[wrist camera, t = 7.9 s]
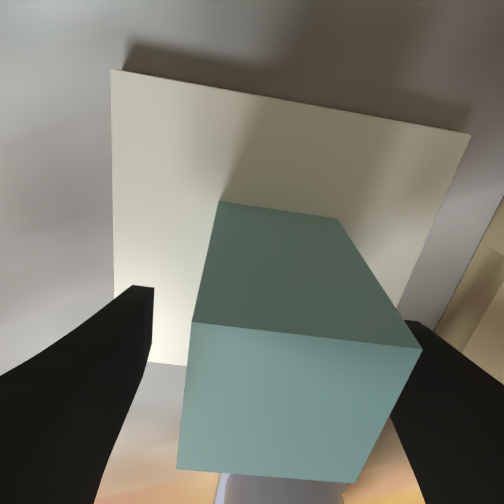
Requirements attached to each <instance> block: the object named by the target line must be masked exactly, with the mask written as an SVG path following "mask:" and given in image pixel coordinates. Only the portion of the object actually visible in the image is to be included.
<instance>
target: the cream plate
mask: <svg viewBox="0 0 504 504" xmlns="http://www.w3.org/2000/svg"><path fill="white" fill-rule="evenodd" d="M111 120H112V180H113V239H114V298H116V297H117V296H118V295H120V294H121V293H122V292H123V291H125V290H126V289H127V288H129V287H130V286H132V285H138V286H146V287H153V288H154V309H153V331H152V345H151V349H150V352H149V356H148V360H147V362H156V363H165V364H174V365H183V366H187V360H188V351H189V341H190V332H191V322H192V318H193V313H194V309H195V304H196V300H197V295H198V291H199V286H200V282H201V277H202V273H203V268H204V264H205V259H206V255H207V251H208V246H209V242H210V237H211V233H212V228H213V224H214V219H215V215H216V210H217V206H218V201H223V202H230V203H237V204H243V205H250V206H257V207H263V208H270V209H277V210H283V211H290V212H296V213H303V214H310V215H316V216H323V217H330V218H336V219H338V221H339V222H340V224H341V225H342V227H343V228H344V230H345V231H346V233H347V234H348V236H349V237H350V239H351V240H352V242H353V244H354V245H355V247H356V248H357V250H358V251H359V253H360V254H361V256H362V257H363V259H364V260H365V262H366V263H367V265H368V266H369V268H370V269H371V271H372V273H373V274H374V276H375V277H376V279H377V280H378V282H379V283H380V285H381V286H382V288H383V289H384V291H385V292H386V294H387V295H388V297H389V298H390V300H391V302H392V303H393V305H394V306H395V308H397V306H398V304H399V301H400V299H401V297H402V294H403V292H404V290H405V288H406V285H407V283H408V281H409V278H410V276H411V274H412V271H413V269H414V267H415V265H416V262H417V260H418V258H419V255H420V253H421V251H422V248H423V246H424V244H425V242H426V239H427V237H428V235H429V232H430V230H431V228H432V225H433V223H434V221H435V219H436V216H437V214H438V212H439V209H440V207H441V205H442V202H443V200H444V198H445V196H446V193H447V191H448V189H449V186H450V184H451V182H452V180H453V177H454V175H455V173H456V170H457V168H458V166H459V163H460V161H461V159H462V157H463V154H464V152H465V150H466V147H467V145H468V143H469V140H470V138H471V136H472V135H470V134H466V133H462V132H458V131H453V130H447V129H442V128H436V127H431V126H425V125H420V124H415V123H409V122H404V121H398V120H393V119H387V118H382V117H376V116H371V115H365V114H360V113H354V112H349V111H343V110H338V109H333V108H327V107H322V106H316V105H311V104H305V103H300V102H294V101H289V100H283V99H278V98H272V97H267V96H262V95H256V94H251V93H245V92H240V91H234V90H229V89H223V88H218V87H212V86H207V85H201V84H196V83H191V82H185V81H180V80H174V79H169V78H163V77H158V76H152V75H147V74H141V73H136V72H130V71H125V70H117V69H111Z"/></svg>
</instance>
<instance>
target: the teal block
mask: <svg viewBox="0 0 504 504" xmlns="http://www.w3.org/2000/svg"><path fill="white" fill-rule="evenodd" d="M422 350H423V349H422V347H421V346H420V344H419V343H418V341H417V340H416V338H415V337H414V335H413V334H412V332H411V331H410V329H409V327H408V326H407V324H406V323H405V321H404V320H403V318H402V317H401V315H400V314H399V312H398V311H397V309H396V308H395V306H394V305H393V303H392V302H391V300H390V298H389V297H388V295H387V294H386V292H385V291H384V289H383V288H382V286H381V285H380V283H379V282H378V280H377V279H376V277H375V276H374V274H373V273H372V271H371V269H370V268H369V266H368V265H367V263H366V262H365V260H364V259H363V257H362V256H361V254H360V253H359V251H358V250H357V248H356V247H355V245H354V244H353V242H352V240H351V239H350V237H349V236H348V234H347V233H346V231H345V230H344V228H343V227H342V225H341V224H340V222H339V221H338V219H336V218H330V217H323V216H316V215H310V214H303V213H296V212H290V211H283V210H277V209H270V208H263V207H257V206H250V205H243V204H237V203H230V202H223V201H218V206H217V210H216V215H215V219H214V224H213V228H212V233H211V237H210V242H209V246H208V251H207V255H206V259H205V264H204V268H203V273H202V277H201V282H200V286H199V291H198V295H197V300H196V304H195V309H194V313H193V318H192V322H191V332H190V341H189V351H188V360H187V370H186V380H185V389H184V399H183V408H182V418H181V427H180V437H179V446H178V456H177V465H176V469H180V470H193V471H205V472H217V473H230V474H242V475H255V476H267V477H279V478H292V479H304V480H316V481H329V482H341V483H353V484H355V482H356V480H357V478H358V476H359V474H360V472H361V471H362V469H363V467H364V465H365V463H366V461H367V459H368V457H369V455H370V453H371V451H372V449H373V447H374V445H375V443H376V441H377V439H378V437H379V435H380V433H381V431H382V429H383V427H384V425H385V423H386V421H387V419H388V417H389V415H390V413H391V411H392V409H393V407H394V405H395V403H396V401H397V400H398V398H399V396H400V394H401V392H402V390H403V388H404V386H405V384H406V382H407V380H408V378H409V376H410V374H411V372H412V370H413V368H414V366H415V364H416V362H417V360H418V358H419V356H420V354H421V352H422Z"/></svg>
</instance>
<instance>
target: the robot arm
mask: <svg viewBox="0 0 504 504" xmlns="http://www.w3.org/2000/svg"><path fill="white" fill-rule="evenodd" d="M153 309H154V288H153V287H146V286H138V285H132V286H130V287H129V288H127V289H126V290H125V291H123V292H122V293H121V294H120V295H118V296H117V297H116V298H115V299H113V300H112V301H111V302H110V303H108V304H107V305H106V306H105V307H103V308H102V309H101V310H100V311H98V312H97V313H96V314H94V315H93V316H92V317H90V318H89V319H88V320H86V321H85V322H84V323H82V324H81V325H80V326H78V327H77V328H76V329H74V330H73V331H71V332H70V333H68V334H67V335H65V336H64V337H63V338H61V339H60V340H58V341H57V342H55V343H54V344H52V345H51V346H49V347H48V348H46V349H45V350H43V351H42V352H40V353H39V354H37V355H35V356H34V357H32V358H31V359H29V360H27V361H26V362H24V363H22V364H20V365H19V366H17V367H15V368H13V369H12V370H10V371H8V372H6V373H5V374H3V375H1V376H0V504H94V501H95V498H96V494H97V491H98V488H99V485H100V482H101V479H102V476H103V473H104V470H105V467H106V465H107V462H108V459H109V457H110V454H111V452H112V449H113V447H114V444H115V442H116V440H117V437H118V435H119V432H120V430H121V428H122V425H123V423H124V420H125V418H126V416H127V413H128V411H129V408H130V406H131V404H132V401H133V399H134V396H135V394H136V391H137V389H138V387H139V384H140V382H141V379H142V377H143V373H144V370H145V367H146V363H147V360H148V356H149V352H150V349H151V345H152V331H153ZM404 321H405V323H406V324H407V326H408V327H409V329H410V331H411V332H412V334H413V335H414V337H415V338H416V340H417V341H418V343H419V344H420V346H421V347H422V349H423V350H422V352H421V354H420V356H419V358H418V360H417V362H416V364H415V366H414V368H413V370H412V372H411V374H410V376H409V378H408V380H407V382H406V384H405V386H404V388H403V390H402V392H401V394H400V396H399V398H398V400H397V401H396V403H395V405H394V407H393V409H392V411H391V413H390V417H391V419H392V422H393V424H394V427H395V429H396V432H397V434H398V436H399V439H400V441H401V443H402V446H403V448H404V451H405V453H406V455H407V458H408V460H409V463H410V465H411V467H412V470H413V472H414V474H415V477H416V479H417V482H418V484H419V487H420V490H421V492H422V495H423V498H424V500H425V503H426V504H504V385H503V384H502V383H501V382H499V381H498V380H496V379H495V378H494V377H492V376H491V375H490V374H488V373H487V372H486V371H484V370H483V369H482V368H480V367H479V366H478V365H476V364H475V363H474V362H472V361H471V360H470V359H469V358H467V357H466V356H465V355H463V354H462V353H461V352H459V351H458V350H457V349H455V348H454V347H453V346H452V345H450V344H449V343H448V342H446V341H445V340H444V339H442V338H441V337H440V336H438V335H437V334H435V333H434V332H433V331H431V330H430V329H428V328H427V327H425V326H424V325H422V324H421V323H419V322H417V321H410V320H404ZM346 485H347V483H341V482H329V481H316V480H304V479H292V478H279V477H267V476H255V475H242V474H230V473H220V476H219V481H218V486H217V490H216V495H215V500H214V504H344V502H343V497H342V493H343V491H344V489H345V487H346Z"/></svg>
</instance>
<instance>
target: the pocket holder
mask: <svg viewBox="0 0 504 504" xmlns="http://www.w3.org/2000/svg"><path fill="white" fill-rule="evenodd" d="M434 333H435V334H437V335H438V336H440V337H441V338H442V339H444V340H445V341H446V342H448V343H449V344H450V345H452V346H453V347H454V348H455V349H457V350H458V351H459V352H461V353H462V354H463V355H465V356H466V357H467V358H469V359H470V360H471V361H472V362H474V363H475V364H476V365H478V366H479V367H480V368H482V369H483V370H484V371H486V372H487V373H488V374H490V375H491V376H492V377H494V378H495V379H496V380H498V381H499V382H501V383H502V384H503V385H504V197H503V199H502V201H501V203H500V205H499V207H498V209H497V211H496V213H495V215H494V217H493V219H492V221H491V223H490V225H489V227H488V229H487V230H486V232H485V234H484V236H483V238H482V240H481V242H480V244H479V246H478V248H477V250H476V252H475V254H474V256H473V258H472V260H471V262H470V263H469V265H468V267H467V269H466V271H465V273H464V275H463V277H462V279H461V281H460V283H459V285H458V287H457V289H456V291H455V293H454V294H453V296H452V298H451V300H450V302H449V304H448V306H447V308H446V310H445V312H444V314H443V316H442V318H441V320H440V322H439V324H438V326H437V327H436V329H435V331H434Z"/></svg>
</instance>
